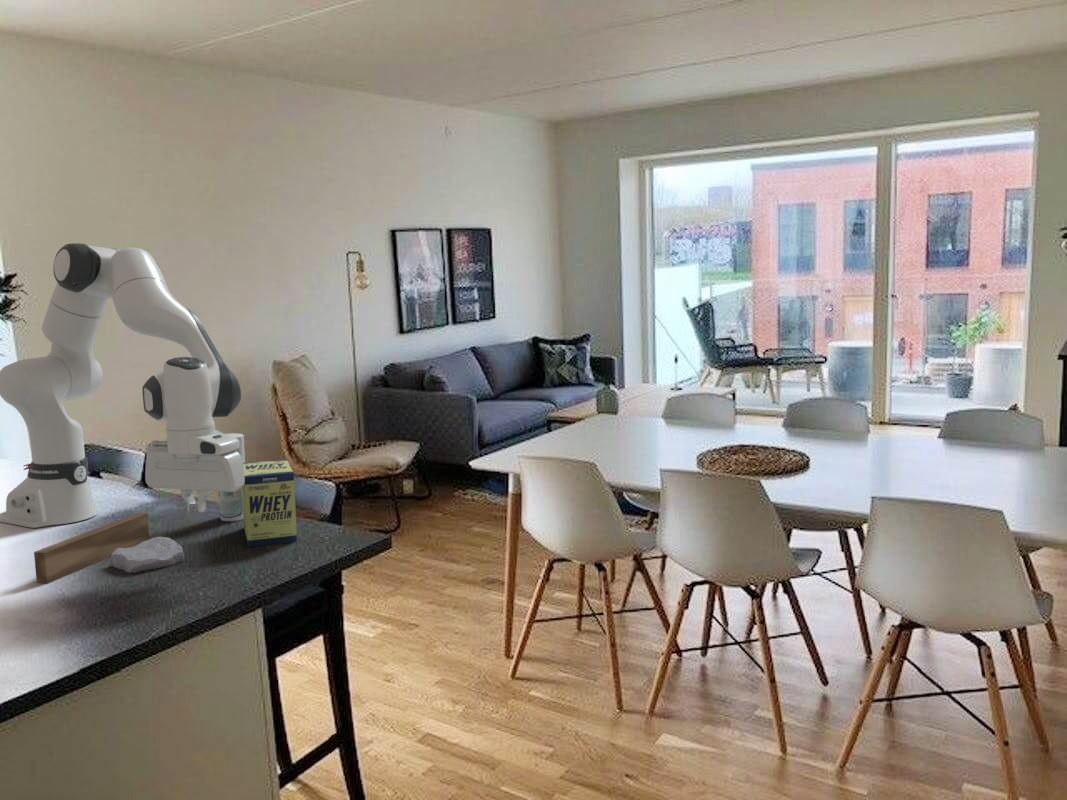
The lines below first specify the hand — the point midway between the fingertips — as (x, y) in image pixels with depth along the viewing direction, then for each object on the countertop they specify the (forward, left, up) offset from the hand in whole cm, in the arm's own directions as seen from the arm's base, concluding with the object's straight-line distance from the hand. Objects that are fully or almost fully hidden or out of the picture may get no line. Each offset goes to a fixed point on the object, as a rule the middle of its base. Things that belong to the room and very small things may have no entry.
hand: (196, 511), depth 168 cm
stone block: (-12, +1, -12) cm, 17 cm away
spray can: (-15, +34, -12) cm, 39 cm away
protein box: (+1, +24, -12) cm, 27 cm away
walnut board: (-24, 0, -12) cm, 27 cm away
